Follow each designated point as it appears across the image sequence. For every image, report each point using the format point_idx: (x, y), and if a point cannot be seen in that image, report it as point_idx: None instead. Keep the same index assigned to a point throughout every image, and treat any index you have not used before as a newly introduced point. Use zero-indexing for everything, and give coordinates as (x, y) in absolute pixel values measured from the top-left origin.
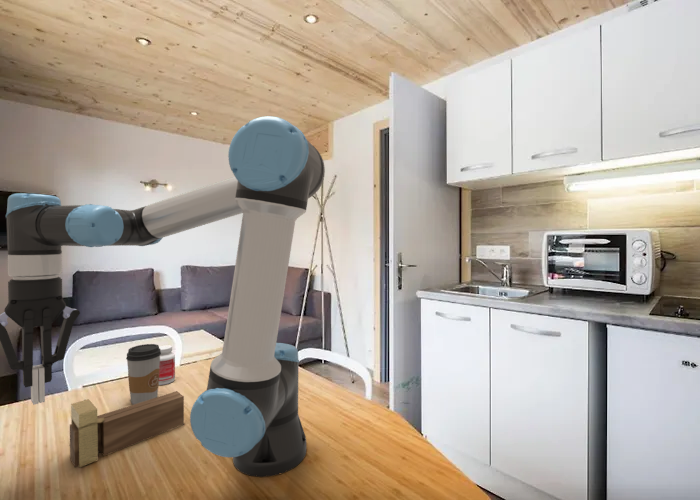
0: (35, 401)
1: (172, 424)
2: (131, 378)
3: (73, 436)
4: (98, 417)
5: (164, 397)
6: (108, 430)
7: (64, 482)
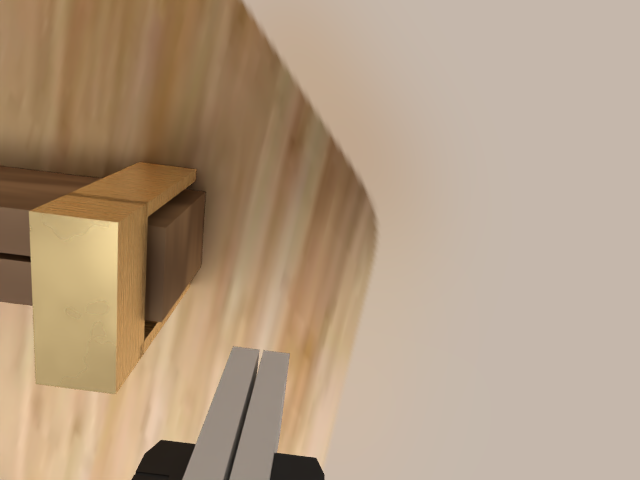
0: (276, 363)
1: None
2: None
3: (173, 240)
4: None
5: None
6: (52, 199)
7: (253, 124)
